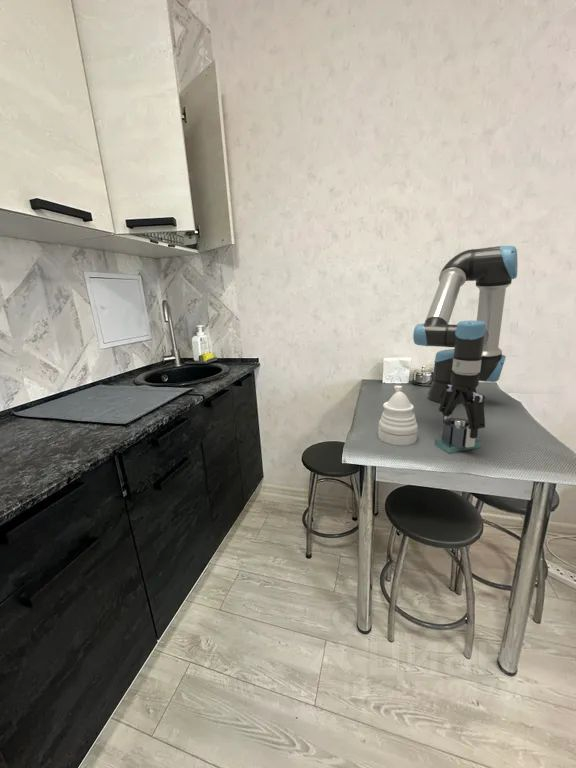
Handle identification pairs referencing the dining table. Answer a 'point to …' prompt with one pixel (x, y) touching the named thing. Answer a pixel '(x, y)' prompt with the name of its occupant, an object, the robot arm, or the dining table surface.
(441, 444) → the teal two-tone fixture
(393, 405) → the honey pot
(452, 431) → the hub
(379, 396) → the dining table surface
